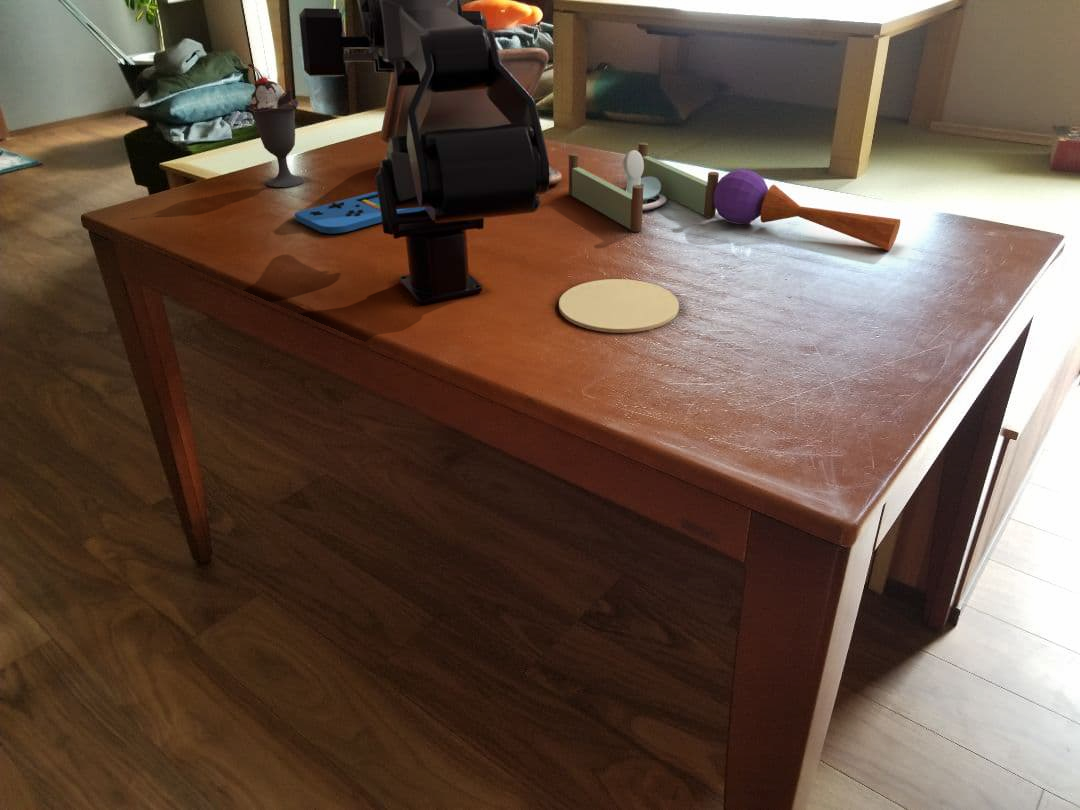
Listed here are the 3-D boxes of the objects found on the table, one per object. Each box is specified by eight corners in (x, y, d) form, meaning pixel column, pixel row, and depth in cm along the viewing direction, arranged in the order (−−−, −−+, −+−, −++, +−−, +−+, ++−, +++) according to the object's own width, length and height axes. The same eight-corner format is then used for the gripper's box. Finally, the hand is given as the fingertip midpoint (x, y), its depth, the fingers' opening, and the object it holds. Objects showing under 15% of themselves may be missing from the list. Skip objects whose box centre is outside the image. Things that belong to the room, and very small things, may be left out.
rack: (717, 216, 101) (721, 173, 98) (634, 232, 96) (636, 188, 94) (643, 180, 113) (644, 141, 110) (567, 193, 109) (566, 153, 106)
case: (517, 147, 128) (514, 30, 120) (569, 185, 111) (570, 52, 103) (380, 161, 122) (367, 39, 114) (413, 204, 105) (401, 64, 97)
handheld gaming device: (292, 210, 102) (399, 182, 110) (293, 219, 102) (400, 191, 111) (328, 227, 96) (437, 197, 105) (330, 237, 97) (438, 206, 105)
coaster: (702, 316, 78) (702, 312, 78) (595, 343, 74) (595, 339, 73) (638, 274, 86) (638, 271, 86) (538, 296, 82) (538, 292, 82)
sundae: (255, 179, 117) (232, 61, 109) (305, 172, 119) (286, 56, 112) (264, 192, 112) (240, 70, 104) (316, 185, 114) (297, 64, 106)
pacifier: (677, 204, 105) (639, 192, 109) (682, 152, 102) (643, 141, 105) (637, 218, 101) (600, 205, 104) (641, 165, 97) (602, 154, 101)
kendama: (891, 223, 86) (706, 178, 95) (879, 273, 90) (702, 225, 99) (909, 196, 89) (729, 155, 98) (897, 246, 93) (725, 202, 102)
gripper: (497, -56, 82) (467, -27, 96) (292, -63, 77) (294, -32, 92) (500, 70, 85) (471, 80, 100) (305, 70, 81) (304, 80, 95)
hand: (388, 50), depth 96 cm, fingers open, 9 cm apart
